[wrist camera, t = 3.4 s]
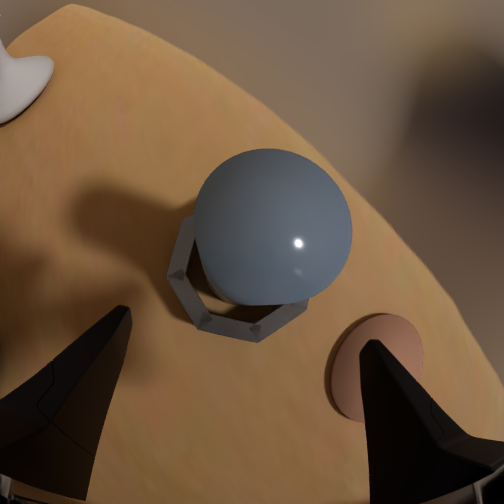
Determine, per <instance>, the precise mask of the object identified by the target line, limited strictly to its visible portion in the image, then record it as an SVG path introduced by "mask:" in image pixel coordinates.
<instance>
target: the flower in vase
mask: <svg viewBox="0 0 504 504" xmlns="http://www.w3.org/2000/svg"><path fill="white" fill-rule="evenodd" d="M0 17H1V14H0ZM53 69H54V62H53V60H52V59H50V58H49V57H47V56H30V57H24V58H13V57H11V56H10V55H9V54H8V53H7V52H6V50H5V48H4V46H3V45H2V42H1V39H0V124H1V123H4V122H7V121H9V120H10V119H12V118H14V117H15V116H17V115H18V114H19V113H21V112H22V111H23V110H24V109H25V108H27V107H28V106H29V105H30V104H31V103H32V102H33V101H34V100H35V99H36V98H37V97H38V95H39V94H40V93H41V92H42V91H43V89H44V88H45V87H46V85H47V84H48V82H49V80H50V78H51V76H52V74H53Z"/></svg>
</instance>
